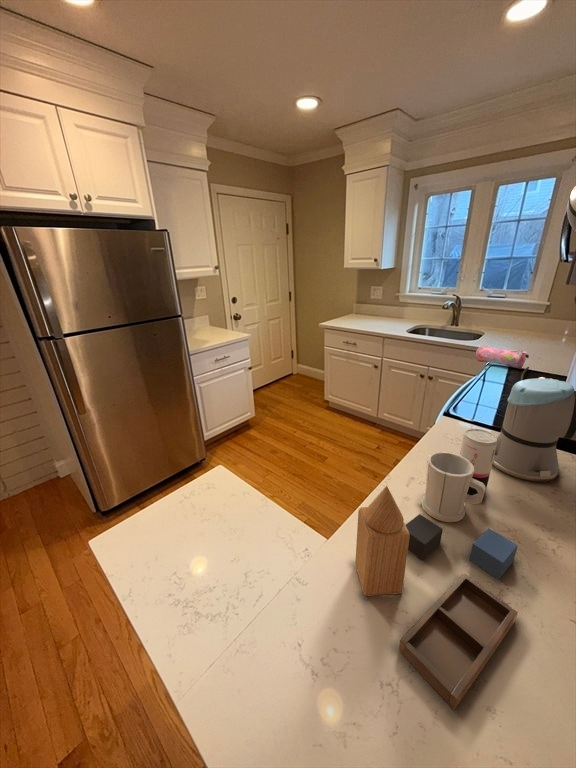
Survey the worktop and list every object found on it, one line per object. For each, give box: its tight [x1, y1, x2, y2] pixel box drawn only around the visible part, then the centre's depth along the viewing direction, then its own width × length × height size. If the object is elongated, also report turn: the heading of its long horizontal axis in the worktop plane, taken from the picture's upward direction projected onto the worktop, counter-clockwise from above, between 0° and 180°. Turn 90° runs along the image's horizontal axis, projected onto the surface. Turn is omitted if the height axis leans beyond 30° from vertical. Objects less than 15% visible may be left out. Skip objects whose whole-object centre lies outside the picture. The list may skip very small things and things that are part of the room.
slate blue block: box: [468, 527, 519, 580], centre depth 58 cm, size 6×5×4 cm
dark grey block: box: [405, 513, 444, 561], centre depth 62 cm, size 6×5×4 cm
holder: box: [398, 572, 519, 710], centre depth 47 cm, size 17×8×2 cm, turn 126°
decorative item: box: [354, 485, 410, 597], centre depth 53 cm, size 7×7×20 cm
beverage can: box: [459, 428, 498, 496], centre depth 74 cm, size 6×7×15 cm
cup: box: [420, 451, 487, 523], centre depth 69 cm, size 10×9×12 cm
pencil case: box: [475, 344, 530, 370], centre depth 161 cm, size 21×9×9 cm, turn 39°
